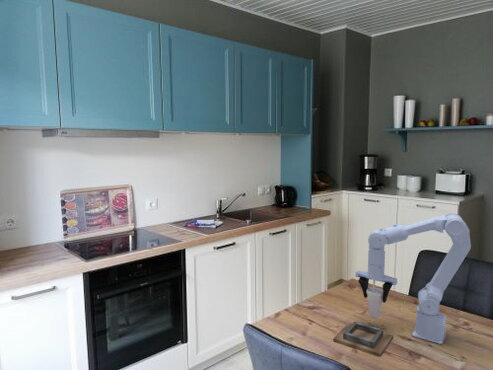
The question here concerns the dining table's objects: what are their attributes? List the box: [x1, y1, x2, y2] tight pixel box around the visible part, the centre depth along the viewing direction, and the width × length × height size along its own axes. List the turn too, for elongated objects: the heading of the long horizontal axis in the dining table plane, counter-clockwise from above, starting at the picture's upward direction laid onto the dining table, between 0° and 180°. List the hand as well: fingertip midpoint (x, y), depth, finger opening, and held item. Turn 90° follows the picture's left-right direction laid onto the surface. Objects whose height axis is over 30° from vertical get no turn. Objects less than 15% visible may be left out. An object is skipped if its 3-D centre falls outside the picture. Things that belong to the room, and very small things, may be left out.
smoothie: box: [366, 280, 383, 319], centre depth 137 cm, size 6×6×14 cm
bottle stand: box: [332, 320, 394, 358], centre depth 128 cm, size 16×14×3 cm
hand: (375, 299), depth 137 cm, fingers closed on smoothie, 6 cm apart
